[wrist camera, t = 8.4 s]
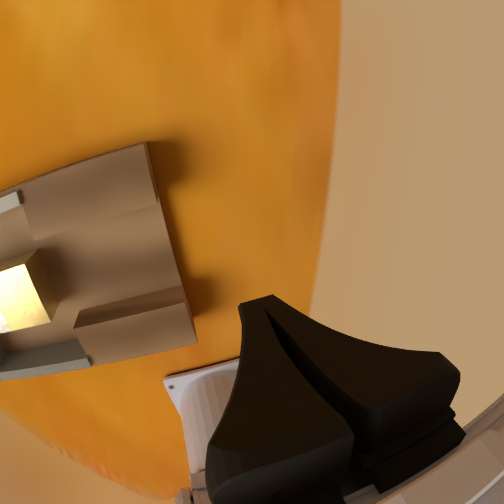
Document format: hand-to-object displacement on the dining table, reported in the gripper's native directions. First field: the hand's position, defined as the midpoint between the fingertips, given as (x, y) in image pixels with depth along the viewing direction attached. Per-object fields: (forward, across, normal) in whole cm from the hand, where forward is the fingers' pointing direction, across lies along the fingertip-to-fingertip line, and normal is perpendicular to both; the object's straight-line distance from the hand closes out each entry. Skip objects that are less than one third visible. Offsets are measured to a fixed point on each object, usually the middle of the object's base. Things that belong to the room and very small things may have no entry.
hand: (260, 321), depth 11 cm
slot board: (+10, +11, 0) cm, 15 cm away
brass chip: (+9, +13, 0) cm, 16 cm away
